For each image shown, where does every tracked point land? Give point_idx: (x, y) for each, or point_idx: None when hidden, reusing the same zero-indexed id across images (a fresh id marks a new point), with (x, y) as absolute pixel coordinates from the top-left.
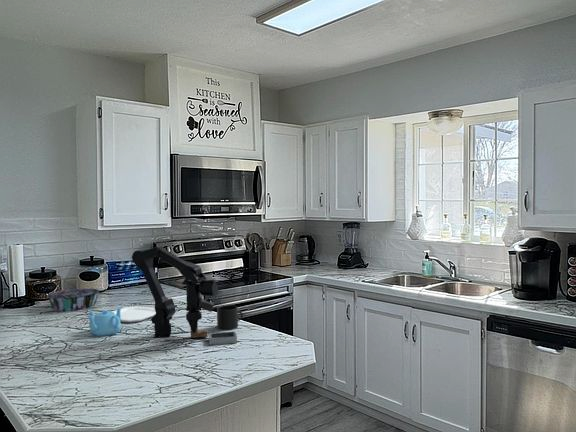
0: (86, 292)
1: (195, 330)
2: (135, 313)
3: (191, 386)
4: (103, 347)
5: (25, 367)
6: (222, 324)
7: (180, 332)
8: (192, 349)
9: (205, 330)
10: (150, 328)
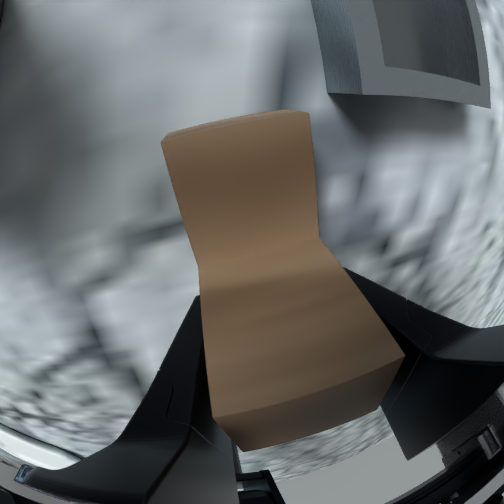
0: (37, 490)
1: (349, 273)
2: (23, 449)
3: None
4: (315, 443)
5: (379, 439)
6: None
7: (114, 363)
8: (476, 203)
9: (241, 150)
10: (103, 438)
